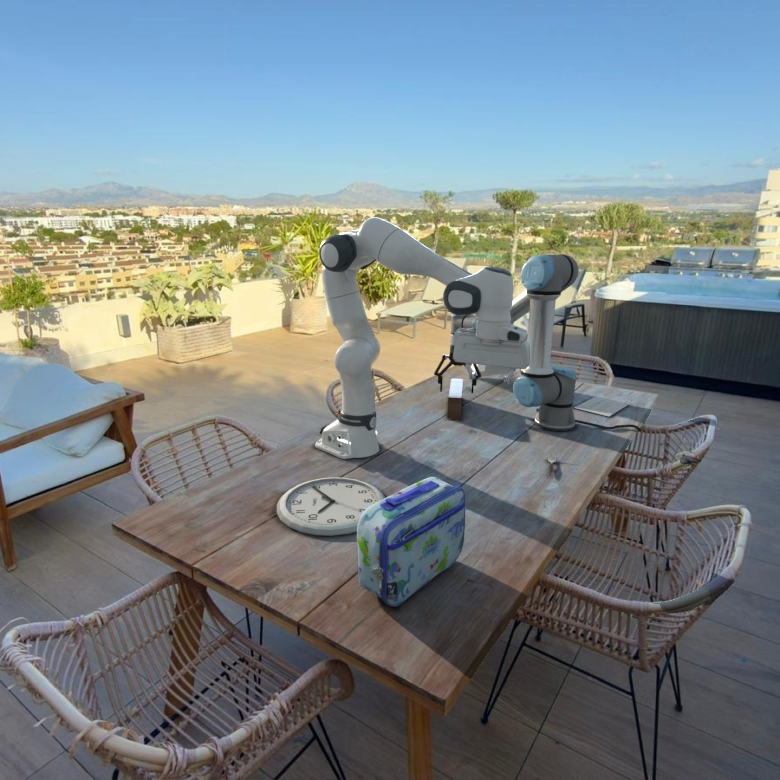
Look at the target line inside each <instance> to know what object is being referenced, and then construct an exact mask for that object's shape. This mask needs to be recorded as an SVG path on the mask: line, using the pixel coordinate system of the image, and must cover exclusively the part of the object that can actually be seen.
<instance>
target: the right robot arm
mask: <svg viewBox="0 0 780 780" xmlns="http://www.w3.org/2000/svg"><path fill="white" fill-rule="evenodd" d="M579 272H580V269H579V264H578V262H577V261H576V260H575V258H574V257H572V256H570V255H569V254H564V253H561V254H538V255H534V256H531V257H530V258H529V259H527V260H526V261H525V263H524V264H523V266H522V268H521V272H520V280H521V281H520V282H521V283H522V284H523V287H524V288H525V289H526V290H524V291H523V292H521V294H519V295H518V296H516V297H515V298H513V303H512V306H511V310H510V315H511V324H512V325H515V322H517V321H518V320H520V319H521V318H523V317H522V316H524V315H525V314H526V315H527V314H528V313H529V314H528V322H529V325H528V335H527V338H526V340H527V341H528V342H529V345H530V365H529V366H528V367H527V368H526V369H520V376H519V377H517V378H516V379H515V380H514V382H513V385H512V391H513V392H512V393H513V396H514V398H515V399H516V400H517V402H518V403H519V404H520V405H521V406H523V407H526V408H535V409H536V410H535V411H536V413H535V416H534V424H535V425H536V426H537V427H539V428H542V429H544V430H549V431H556V432H567V431H572V430H574V429H575V428H576V423H577V424H582V425H585V426H591V427H596V428H599V429H605V430H614V429H618V428H619V429H620V428H634V429H636V430H637V431H642V429H641V427H639V426H638V425H635V424H631V423H630V424H617V425H614V426H606V425H602V424H597V423H592V422H589V421H584V420H579V419H576V418H575V417H576V416H575V413H574V407H573V405H574V398H575V390H576V383H577V372H576V371H575V369H572V368H571V367H570V368H569V367H566V366H561V365H551V358H552V347H553V335H554V324H555V315H556V314H555V313H556V302H557V301H556V300H557V299H558V298H559V297H561V295H562V293H563V292H564V291H565V290H567V289H568V288H570V287H571V286H572V285H573V284H575V282H576V281H577V279H578V277H579ZM476 324H477V316H476V314H467V315H455V314H452V313H451V317H450V341H449V342H450V346H449V354H446V353H443V354H442V357H441V360H440V362H439V363H438V365H437V367H436V369H435V370H434V373H433V376H435V377H437V383H438V385H439V386H440V387H439V393H441V392H443V379H444V378H443V377H444V376H443V375H444V374H445V373H446V372H447V371H448V370H449V368H451V367H452V366H455V367H456V366H459V367H462V366H464V367H465V366H466V363H461V362H455V360H454V359H453V352H454V347H455V341H454V333H455V331H456V330H458V329H460V328H465V329H476ZM458 332H460V331H458ZM447 359H448V360H449V362H448V363H447V364H446V365H445V366H444V367H443V365H444V363H445V361H446V360H447ZM473 366H474V368H475V370H476V372H477V375H475V376H476V377H475V379H474V380H473V379H471V394H474V387H475V386H477V382H478V381H477V380H478V379H479V378H481V373H480V371H479V369H478V366H477V364H473ZM442 367H443V368H442ZM441 368H442V369H441ZM440 369H441V370H440ZM472 371H473V370H472ZM473 372H474V371H473ZM536 407H537V408H536Z"/></svg>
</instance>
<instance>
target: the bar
mask: <svg viewBox="0 0 780 780" xmlns="http://www.w3.org/2000/svg"><path fill="white" fill-rule="evenodd" d="M463 390H464V378H455V377H454V378H453V377H452V378H451V379H450V385H449V390H448V397H447V415H446V419H447V420H456V421H457V420H458V421H460V420H461V419H462V407H463V406H462V405H463Z"/></svg>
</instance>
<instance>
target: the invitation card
mask: <svg viewBox="0 0 780 780" xmlns="http://www.w3.org/2000/svg"><path fill="white" fill-rule="evenodd" d="M628 406H629V404H627V403H623V402H618V401H614V400H609V399H605V398H601V397H596V396H593V397H592V398H590V399H588V400H586V401H584V402H582V403H580V404H578V405H575V406H574V407H573V409H575V410H581V411H584V412H587V413H593V414H596V415H600V416H604V417H608V418H609V417H611V416H613V415H614V414H616V413H617V412H619V411H621V410H623V409H624V408H626V407H628Z"/></svg>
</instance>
